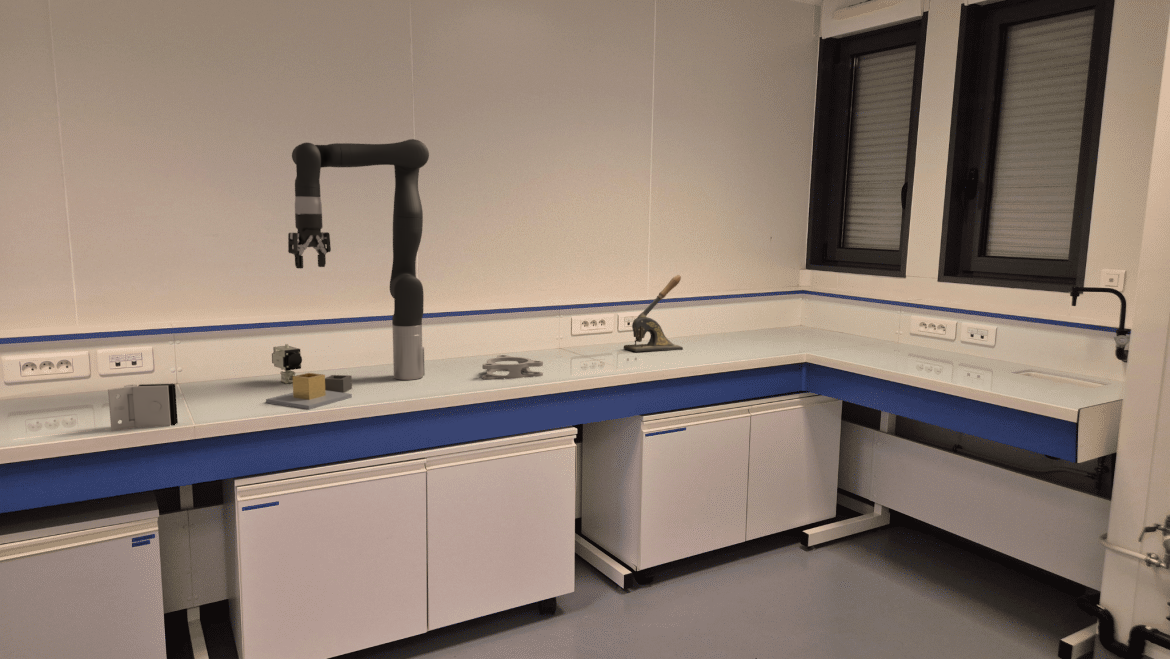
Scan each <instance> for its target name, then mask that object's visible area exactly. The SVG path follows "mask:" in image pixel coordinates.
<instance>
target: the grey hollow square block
mask: <svg viewBox="0 0 1170 659" xmlns="http://www.w3.org/2000/svg"><path fill="white" fill-rule="evenodd" d="M352 379H353V378H352V375H348V374H347V375H345V374H344V375H343V374H337V375H336V374H330V375H329V376H327V377H325V390H327V391H334V392H341V393H347V392H348V391H350V390H352V389H353V383H352V381H353V380H352Z"/></svg>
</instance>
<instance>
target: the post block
mask: <svg viewBox="0 0 1170 659" xmlns="http://www.w3.org/2000/svg"><path fill="white" fill-rule="evenodd" d="M325 394H326V396H322V397H318V398H314V399H311V400H307V399H300V398H294V397H293V392H289V393H286V394H281V395H278V396H274V397H273V396H272V397H270V398H266V399H265V403H267V404H273V405H278V406H284V407H291V408H297V409H303V410H304V409H306V410H312V409H316V408H318V407H323V406H326V405H330V404H333V403H336V402H337V403H338V402H340V401H344V400H347V399H350V398H351V399H352V396H353V394H352V393H347V392H344V393H341V392H334V391H327V390H325Z"/></svg>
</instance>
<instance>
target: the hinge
mask: <svg viewBox="0 0 1170 659" xmlns="http://www.w3.org/2000/svg"><path fill="white" fill-rule="evenodd" d="M107 392H108V393H107V394H108V407H109V421H110V431H112V432H115V431H116V432H117V431H121V430H126V429H132V428H155V426H161V427H171V426H176V425H177V424H178V423H179V422H178V408H177V392H176V383H174V382H170V383H169V382H166V383H165V382H164V383H139V384H126V385H124V386H123V387H116V388H110V389H109V388H108V389H107ZM117 396H119V397H117ZM119 421H121V423H119ZM176 423H177V424H176ZM175 424H176V425H175ZM170 425H171V426H170Z"/></svg>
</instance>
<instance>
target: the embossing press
mask: <svg viewBox="0 0 1170 659" xmlns="http://www.w3.org/2000/svg"><path fill="white" fill-rule="evenodd" d="M681 279H682V276H681V275H680V274H677V275H675V276H673V277H672V278H671V280H669V281H668V283H667V284H666V286H664V288H663V289H662V290H661V291H660V292H659V293H658V295H657V296H656V297H655V298H654V300H653V301H652V302H651V303H650V304H649V305H648V306H647V307H646V308H645V309H644V311H642V312H641V313H639V315H638V316H637V317H636V318H634V320H633V321H632V324H631V328H632V331H633V337H634V338H635V340H634V344H624V345H623V349H624V350H627V351H632V352H636V353H637V352H655V351H656V352H657V351H658V352H659V351H677V350H684V348H683V346H681V345H678V344H675V343H673V342H672V341H670V339H668V337H667V336H666V334H664V331H663V329H662V325H660V324H659V323H658V322H657V321H656V320H654V319H653V318H651V317H649V316H648V317H647V315H649V313H650V312H652V310H653V309H654V308H655V307H656V305H658V303H659V302H660V301H661V300H663V299H664V298H666V297H667V295H668V294H669V293H670V292H671V291H672V290H673V289H674V288H676V286H678V284H680V282H681ZM647 333H649V334H650V338H649V340H648V342H647V343H641V342H642V341H643V339H644V338H645V337H646V334H647ZM637 343H639V344H637ZM640 343H641V344H640Z"/></svg>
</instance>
